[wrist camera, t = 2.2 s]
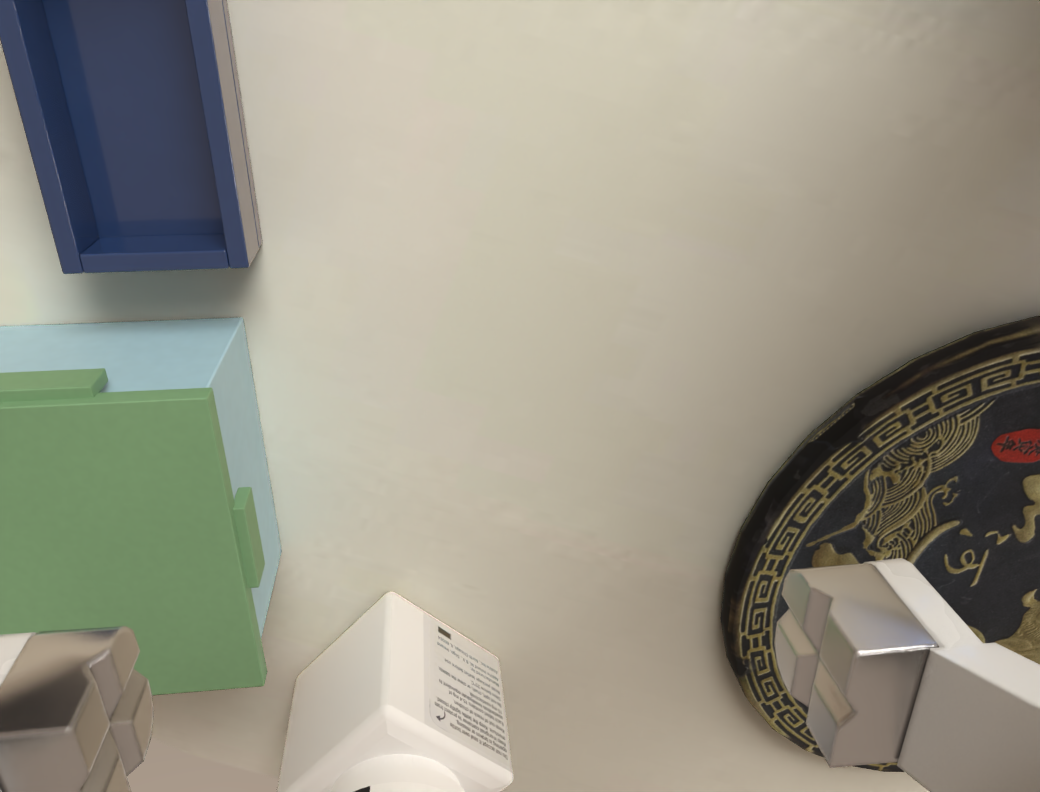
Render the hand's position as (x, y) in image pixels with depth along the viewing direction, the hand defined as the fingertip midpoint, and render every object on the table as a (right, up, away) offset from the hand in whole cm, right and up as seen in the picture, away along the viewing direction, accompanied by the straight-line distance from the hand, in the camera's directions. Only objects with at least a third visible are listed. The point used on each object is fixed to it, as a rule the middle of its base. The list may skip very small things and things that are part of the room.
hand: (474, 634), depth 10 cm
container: (-6, -11, +33) cm, 35 cm away
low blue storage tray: (-13, +14, +19) cm, 27 cm away
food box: (-16, +1, +25) cm, 30 cm away
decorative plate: (+26, -6, +34) cm, 43 cm away
